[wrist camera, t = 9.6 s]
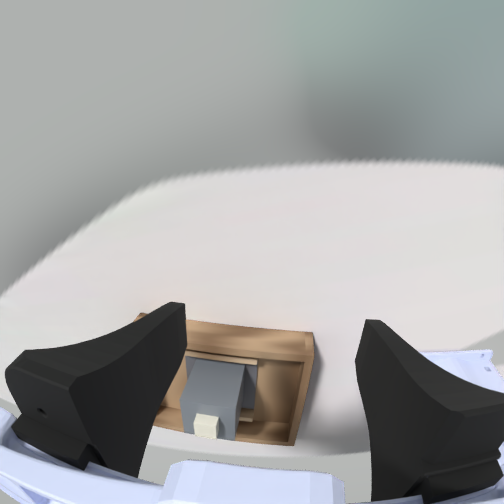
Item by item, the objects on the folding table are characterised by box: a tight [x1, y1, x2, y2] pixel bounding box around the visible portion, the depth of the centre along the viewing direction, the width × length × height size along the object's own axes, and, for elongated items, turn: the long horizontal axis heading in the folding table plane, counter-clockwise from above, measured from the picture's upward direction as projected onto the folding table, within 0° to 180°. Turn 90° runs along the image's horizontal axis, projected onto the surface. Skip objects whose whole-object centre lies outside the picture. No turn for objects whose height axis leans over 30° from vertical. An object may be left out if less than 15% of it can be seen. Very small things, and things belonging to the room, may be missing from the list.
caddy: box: [133, 313, 314, 446], centre depth 25 cm, size 14×11×3 cm
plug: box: [179, 358, 245, 441], centre depth 23 cm, size 4×4×6 cm
